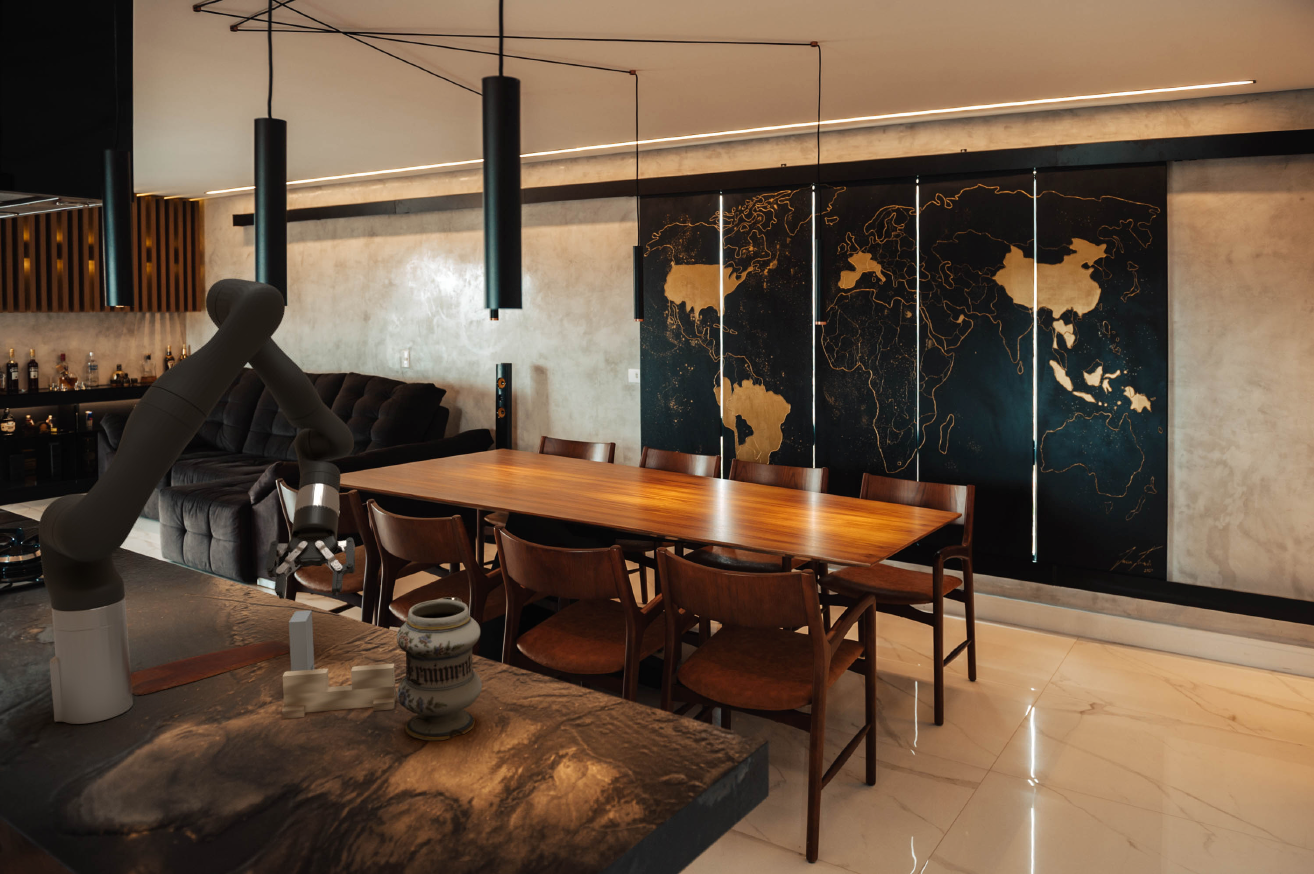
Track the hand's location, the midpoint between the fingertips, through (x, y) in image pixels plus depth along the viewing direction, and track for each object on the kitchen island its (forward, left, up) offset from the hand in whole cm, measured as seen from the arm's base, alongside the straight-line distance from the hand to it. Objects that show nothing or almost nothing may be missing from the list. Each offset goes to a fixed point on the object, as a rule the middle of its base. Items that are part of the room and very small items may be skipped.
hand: (308, 595), depth 144 cm
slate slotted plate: (0, -7, -13) cm, 15 cm away
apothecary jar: (+22, -26, -13) cm, 37 cm away
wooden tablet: (-17, +5, -14) cm, 23 cm away
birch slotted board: (+7, -16, -13) cm, 22 cm away
